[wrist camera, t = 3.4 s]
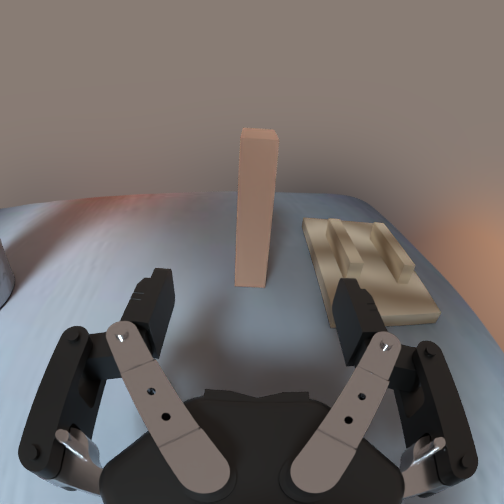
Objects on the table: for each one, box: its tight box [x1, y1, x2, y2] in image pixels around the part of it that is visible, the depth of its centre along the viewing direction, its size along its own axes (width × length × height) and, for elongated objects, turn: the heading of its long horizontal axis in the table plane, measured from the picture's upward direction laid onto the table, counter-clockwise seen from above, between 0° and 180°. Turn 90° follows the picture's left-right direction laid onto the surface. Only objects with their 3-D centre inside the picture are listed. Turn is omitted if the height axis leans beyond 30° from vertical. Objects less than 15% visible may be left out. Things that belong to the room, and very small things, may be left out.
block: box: [235, 128, 279, 288], centre depth 23 cm, size 5×2×12 cm, turn 0°
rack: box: [302, 218, 441, 328], centre depth 26 cm, size 16×10×3 cm, turn 0°
